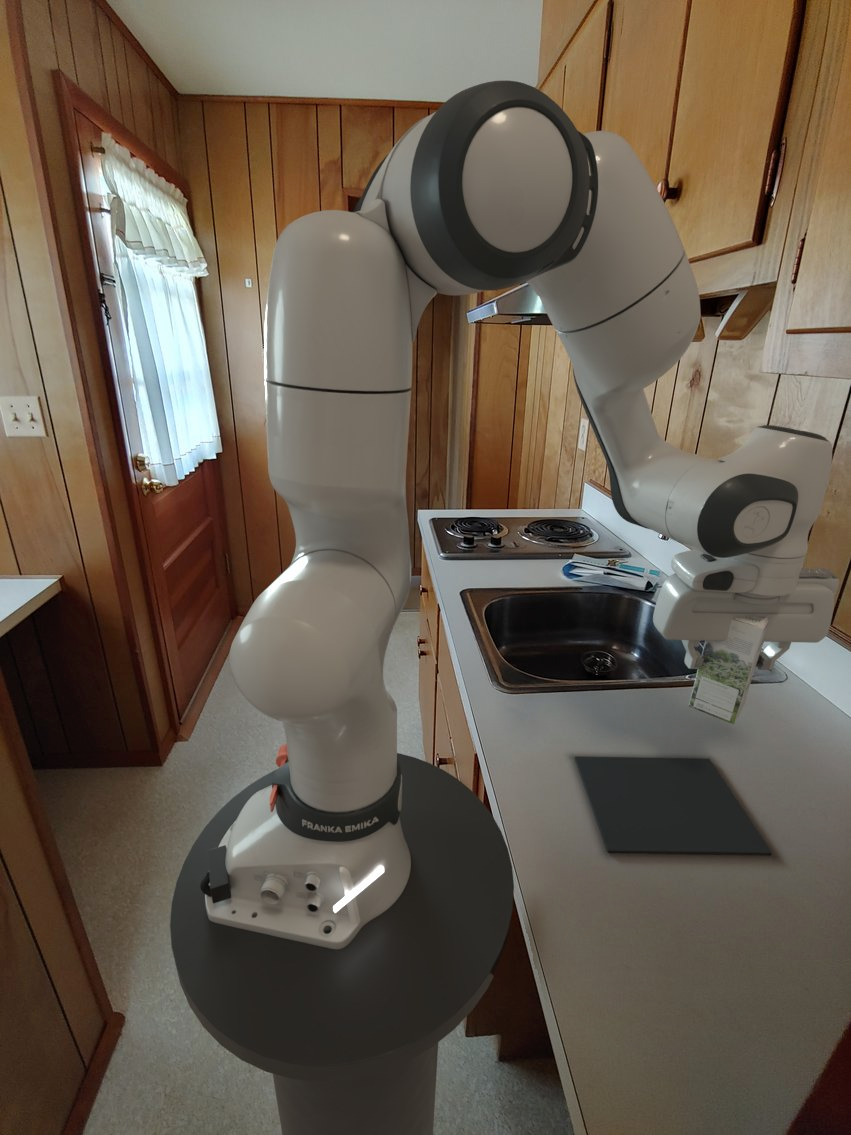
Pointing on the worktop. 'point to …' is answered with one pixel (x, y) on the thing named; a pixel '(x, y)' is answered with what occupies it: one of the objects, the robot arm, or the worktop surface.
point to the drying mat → (666, 807)
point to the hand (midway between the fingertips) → (727, 666)
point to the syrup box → (729, 669)
